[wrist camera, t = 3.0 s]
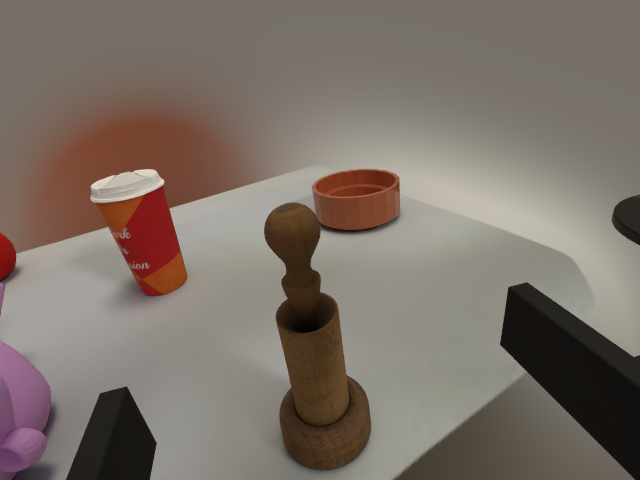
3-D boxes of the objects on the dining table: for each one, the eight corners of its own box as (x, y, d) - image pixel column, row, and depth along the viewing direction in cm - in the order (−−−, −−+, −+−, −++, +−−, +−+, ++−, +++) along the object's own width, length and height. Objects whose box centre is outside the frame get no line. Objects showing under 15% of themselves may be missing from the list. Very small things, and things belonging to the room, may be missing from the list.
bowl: (416, 209, 60) (416, 175, 57) (362, 242, 52) (359, 204, 49) (354, 195, 70) (351, 165, 67) (300, 221, 62) (294, 188, 59)
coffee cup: (132, 279, 51) (88, 179, 44) (190, 260, 54) (157, 163, 47) (134, 310, 44) (82, 196, 37) (200, 286, 47) (163, 177, 40)
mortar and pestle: (319, 493, 23) (264, 250, 15) (268, 425, 28) (204, 213, 19) (389, 427, 26) (376, 199, 18) (332, 376, 31) (302, 179, 23)
